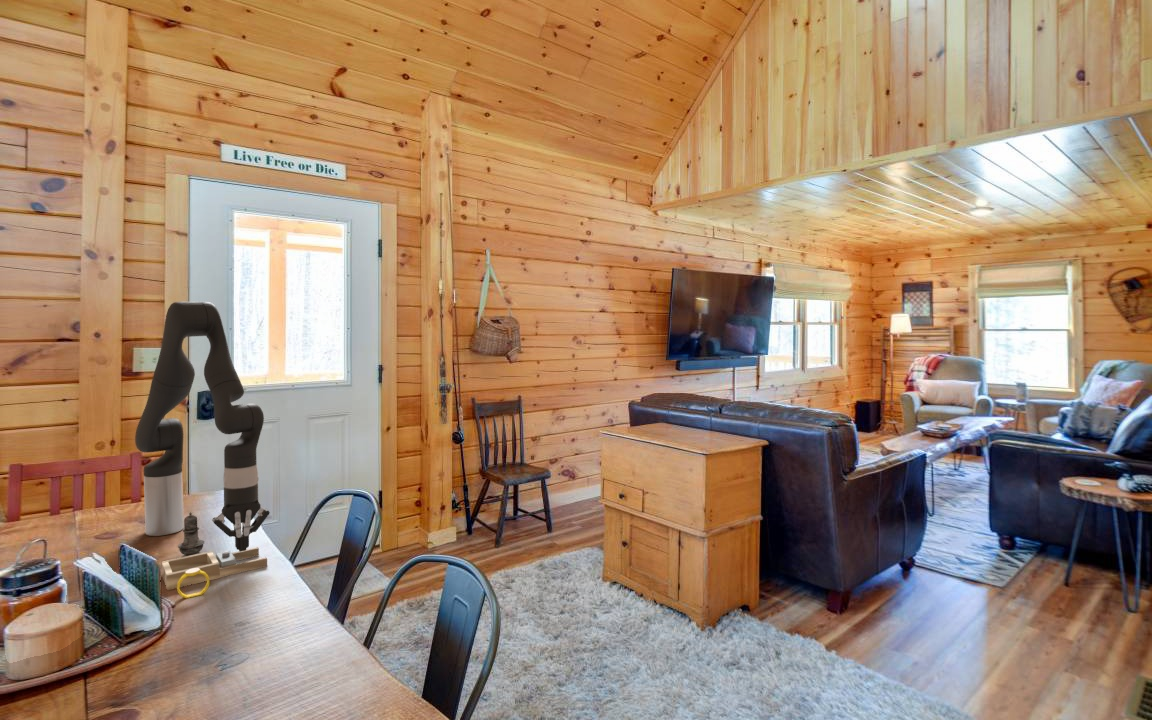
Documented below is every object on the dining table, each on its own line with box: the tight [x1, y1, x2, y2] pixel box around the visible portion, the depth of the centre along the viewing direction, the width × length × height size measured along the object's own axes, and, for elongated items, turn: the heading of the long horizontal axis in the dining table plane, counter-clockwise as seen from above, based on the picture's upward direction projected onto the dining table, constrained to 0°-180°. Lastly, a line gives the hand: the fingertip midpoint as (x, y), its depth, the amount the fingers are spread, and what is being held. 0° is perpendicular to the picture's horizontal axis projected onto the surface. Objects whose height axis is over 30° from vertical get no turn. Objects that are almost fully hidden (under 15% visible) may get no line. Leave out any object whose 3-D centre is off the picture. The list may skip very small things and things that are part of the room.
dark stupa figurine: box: [177, 511, 206, 558], centre depth 150 cm, size 6×6×12 cm
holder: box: [161, 546, 268, 591], centre depth 142 cm, size 10×21×4 cm, turn 131°
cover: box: [216, 550, 237, 568], centre depth 144 cm, size 7×3×4 cm, turn 41°
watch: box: [176, 568, 210, 599], centre depth 129 cm, size 6×3×6 cm, turn 128°
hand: (242, 550), depth 146 cm, fingers closed
